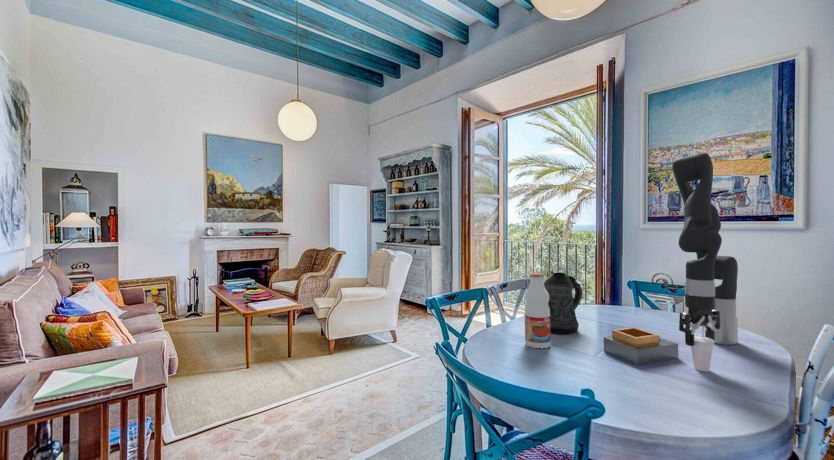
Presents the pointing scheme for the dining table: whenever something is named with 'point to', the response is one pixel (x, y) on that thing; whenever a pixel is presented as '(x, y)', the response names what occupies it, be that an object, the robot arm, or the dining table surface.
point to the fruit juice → (537, 313)
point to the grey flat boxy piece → (639, 346)
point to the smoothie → (702, 352)
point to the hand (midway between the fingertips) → (699, 344)
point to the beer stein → (563, 303)
